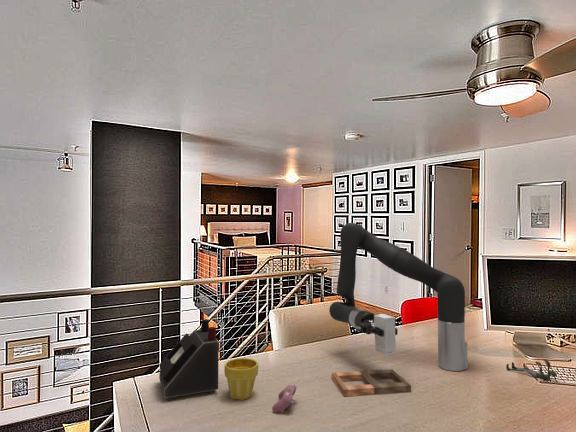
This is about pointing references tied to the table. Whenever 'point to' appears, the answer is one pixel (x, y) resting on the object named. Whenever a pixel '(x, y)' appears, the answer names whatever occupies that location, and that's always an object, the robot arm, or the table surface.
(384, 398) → the table surface
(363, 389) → the brown flat frame
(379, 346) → the skincare box
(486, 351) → the table surface
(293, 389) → the video game controller
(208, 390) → the voltmeter
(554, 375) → the zombie figurine
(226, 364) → the plant pot
